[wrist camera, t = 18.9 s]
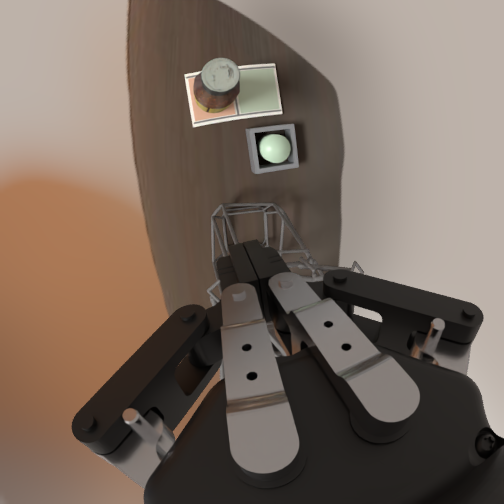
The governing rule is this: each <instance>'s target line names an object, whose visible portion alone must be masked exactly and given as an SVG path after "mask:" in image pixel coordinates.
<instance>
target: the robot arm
mask: <svg viewBox="0 0 504 504" xmlns="http://www.w3.org/2000/svg"><path fill="white" fill-rule="evenodd" d="M228 252H229V256H225V257H220V258H219V259H218V261H217V263H216V265H217V270H218V275H219V280H220V284H221V289H222V293H221V300H220V301H219V302H218V303H217V304H216V305H214V306H212V307H211V308H208V309H206V310H205V309H204V308H203V307H202V306H200V305H194V304H193V305H186V306H183V307H181V308H179V309H178V310H176V311H175V312H174V313H173V314H172V315H171V316H170V317H169V318H168V319H167V320H166V321H165V322H164V323H163V324H162V325H161V326H160V327H159V328H158V329H157V330H156V331H155V332H154V333H153V334H152V336H151V337H150V338H149V339H148V340H147V341H146V342H145V343H144V344H143V345H142V346H141V347H140V348H139V349H138V350H137V351H136V352H135V353H134V354H133V355H132V356H131V357H130V358H129V359H128V360H127V361H126V362H125V364H123V365H122V366H121V368H120V369H119V370H118V371H117V372H116V373H115V374H114V375H113V376H112V377H111V378H110V379H109V380H108V381H107V382H106V383H105V384H104V385H103V386H102V387H101V388H100V390H99V391H98V392H97V393H96V394H95V395H94V396H93V397H92V398H91V399H90V400H89V401H88V402H87V403H86V404H85V405H84V406H83V407H82V408H81V409H80V411H79V412H78V413H77V414H76V415H75V417H74V419H73V422H72V432H73V434H74V436H75V437H76V439H78V440H79V441H80V442H81V443H83V444H84V445H85V446H87V447H88V448H89V449H90V450H91V451H92V452H93V453H95V454H96V455H98V456H99V457H101V458H102V459H104V460H105V461H107V462H108V463H110V464H111V465H113V466H115V467H117V468H118V469H119V470H120V471H121V472H123V473H124V474H125V475H126V476H128V477H129V478H130V479H132V480H133V481H134V482H135V483H137V484H138V485H140V486H141V487H142V488H144V489H145V490H144V504H504V438H501V437H499V436H498V435H496V434H495V433H494V432H493V430H492V429H491V428H490V425H489V423H488V420H487V418H486V414H485V410H484V406H483V400H482V395H481V393H480V390H479V388H478V386H477V385H476V384H475V382H473V380H472V379H471V378H469V377H468V376H467V370H468V364H469V357H470V348H471V344H472V342H473V340H474V338H475V336H476V334H477V332H478V330H479V328H480V326H481V324H482V322H483V313H482V311H481V310H480V309H479V308H478V307H477V306H476V305H474V304H472V303H469V302H465V301H462V300H459V299H455V298H451V297H447V296H444V295H440V294H436V293H432V292H429V291H424V290H421V289H417V288H413V287H410V286H406V285H402V284H398V283H394V282H390V281H387V280H383V279H379V278H375V277H371V276H367V275H364V274H360V273H356V272H352V271H348V270H343V269H336V270H331V271H329V272H327V273H326V274H325V275H324V277H323V281H322V282H305V281H304V280H303V278H302V277H301V276H300V275H298V274H296V273H292V272H291V271H290V270H289V268H288V267H287V265H286V264H285V262H284V261H283V259H282V258H281V256H280V255H279V253H278V252H277V250H275V249H274V248H272V247H270V246H269V247H264V248H262V247H261V245H260V244H259V242H258V240H257V239H256V240H252V241H247V242H243V244H242V243H238V244H234V245H230V246H228ZM354 305H355V306H358V307H362V308H365V309H368V310H371V311H375V312H377V313H379V314H380V315H381V316H382V322H378V321H375V320H371V319H368V318H365V317H362V316H359V315H355V314H353V313H354ZM267 322H273V324H272V325H266V323H267ZM267 328H268V329H267ZM268 330H269V331H270V332H271V333H272V334H273V335H274V336H275V337H276V339H277V340H278V341H279V342H280V344H281V346H282V348H283V350H284V352H285V353H286V355H287V356H282V355H280V356H281V357H275V355H274V351H275V352H280V351H279V350H278V349H277V347H276V346H275V345H274V344H273V343H272V342H271V340H270V336H269V333H268ZM273 350H274V351H273ZM185 356H186V357H185ZM184 357H185V358H184ZM222 359H223V362H224V374H225V378H223V379H222V380H221V381H219V382H218V383H217V384H216V385H215V386H213V388H212V389H211V390H210V391H209V392H208V394H207V395H206V397H205V398H204V400H203V401H202V402H201V404H200V406H199V407H198V408H197V410H196V411H195V413H194V414H193V416H192V418H191V419H190V421H189V422H188V423H187V425H186V426H185V428H184V429H183V431H182V432H181V434H180V435H179V437H178V438H177V439H176V441H175V437H174V434H173V430H174V429H175V428H176V427H177V425H178V424H179V423H180V421H181V420H182V418H183V417H184V416H185V415H186V413H187V412H188V410H189V409H190V408H191V407H192V405H193V404H194V402H195V401H196V400H197V398H198V397H199V396H200V394H201V393H202V391H203V390H204V389H205V387H206V386H207V385H208V383H209V382H210V380H211V379H212V377H213V376H214V375H215V373H216V372H217V371H218V369H219V368H220V366H221V364H222ZM180 362H181V363H180ZM179 363H180V364H179ZM176 367H177V368H176Z"/></svg>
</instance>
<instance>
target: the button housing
mask: <svg viewBox="0 0 504 504" xmlns="http://www.w3.org/2000/svg"><path fill="white" fill-rule="evenodd" d="M282 129H284V130H285V138H286V139H287V140H288V141H289V143H290V148H291V149H290V154H289V156H288V161H286V162H280V163H273V164H267V165H260V166H259V161H258V154H257V147H256V140H255V134H254V133H258V132H265V131H273V130H282ZM246 136H247V142H248V149H249V156H250V162H251V169H252V172H254V173H255V174H259V173H265V172H271V171H277V170H284V169H290V168H297V167H299V164H298V154H297V145H296V136H295V128H294V124H281V125H272V126H264V127H256V128H249V129H246Z"/></svg>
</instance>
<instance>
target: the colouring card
mask: <svg viewBox="0 0 504 504" xmlns="http://www.w3.org/2000/svg"><path fill="white" fill-rule="evenodd" d="M238 68H239V70H240V79H239V81H240V93H239V94H238V96H237V98H236V99H235V100H234V102H233V103H232V104H230V105H229V106H228V107H227V108H226V109H225V110H223V111H222V112H219V113H208V112H205V111H203V110H202V109H200V108H199V106H198V105H197V103H196V101H195V97H194V92H193V85H194V79H195V77H196V76H197V75H198V74H199V73H200V72H195V73H190V74H185V81H186V87H187V93H188V100H189V106H190V111H191V117H192V123H193V127H197V126H202V125H207V124H213V123H218V122H224V121H230V120H237V119H244V118H251V117H259V116H267V115H277V114H282V107H281V100H280V93H279V87H278V80H277V74H276V68H275V64H258V65H246V66H238ZM201 72H202V71H201Z"/></svg>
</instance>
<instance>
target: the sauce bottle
mask: <svg viewBox="0 0 504 504" xmlns="http://www.w3.org/2000/svg"><path fill="white" fill-rule="evenodd" d="M239 79H240V70H239V68H238V66H237V65H236V64H235V63H234V62H233V61H231V60H230V59H227V58H216V59H213V60H211V61H209V62H208V63H207V64H206V65H205V66H204V67H203V69H202V72H200V73H199V74H198V75H197V76H196V77H195V79H194V85H193V92H194V97H195V101H196V103H197V105H198V106H199V108H200V109H202V110H203V111H205V112H208V113H219V112H222V111H223V110H225V109H226V108H227V107H228V106H229V105H230V104H232V103H233V102H234V100H235V99H236V98H237V96H238V94H239V93H240V81H239Z"/></svg>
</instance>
